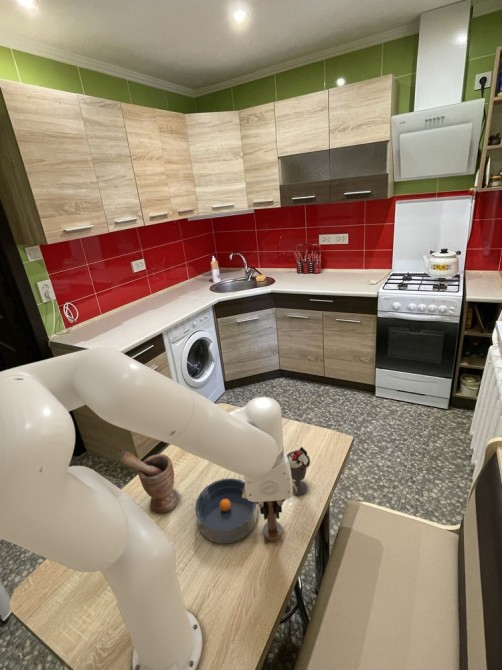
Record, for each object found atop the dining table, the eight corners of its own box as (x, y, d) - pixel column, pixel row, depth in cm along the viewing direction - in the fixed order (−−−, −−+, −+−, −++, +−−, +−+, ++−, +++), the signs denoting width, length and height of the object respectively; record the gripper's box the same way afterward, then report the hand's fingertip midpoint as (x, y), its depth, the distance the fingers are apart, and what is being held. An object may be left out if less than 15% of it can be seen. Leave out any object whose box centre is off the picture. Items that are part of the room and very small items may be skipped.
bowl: (258, 542, 81) (257, 528, 79) (194, 547, 82) (191, 533, 80) (256, 489, 95) (255, 476, 93) (201, 494, 95) (199, 480, 93)
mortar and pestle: (145, 529, 87) (127, 470, 79) (132, 507, 93) (114, 450, 85) (185, 502, 93) (172, 445, 85) (170, 483, 100) (157, 428, 91)
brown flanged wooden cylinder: (283, 540, 81) (280, 503, 76) (264, 541, 81) (260, 505, 76) (281, 523, 85) (278, 487, 80) (263, 524, 85) (259, 488, 80)
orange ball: (231, 502, 91) (229, 514, 89) (220, 500, 91) (218, 512, 89) (232, 498, 89) (230, 510, 87) (220, 496, 89) (218, 508, 87)
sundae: (290, 501, 91) (288, 457, 85) (283, 481, 97) (280, 439, 91) (314, 495, 92) (313, 452, 86) (305, 476, 98) (304, 434, 92)
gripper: (227, 469, 69) (236, 531, 77) (307, 463, 69) (308, 525, 76) (228, 443, 76) (237, 502, 83) (301, 437, 76) (303, 497, 83)
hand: (271, 513), depth 80 cm, fingers closed on brown flanged wooden cylinder, 2 cm apart
